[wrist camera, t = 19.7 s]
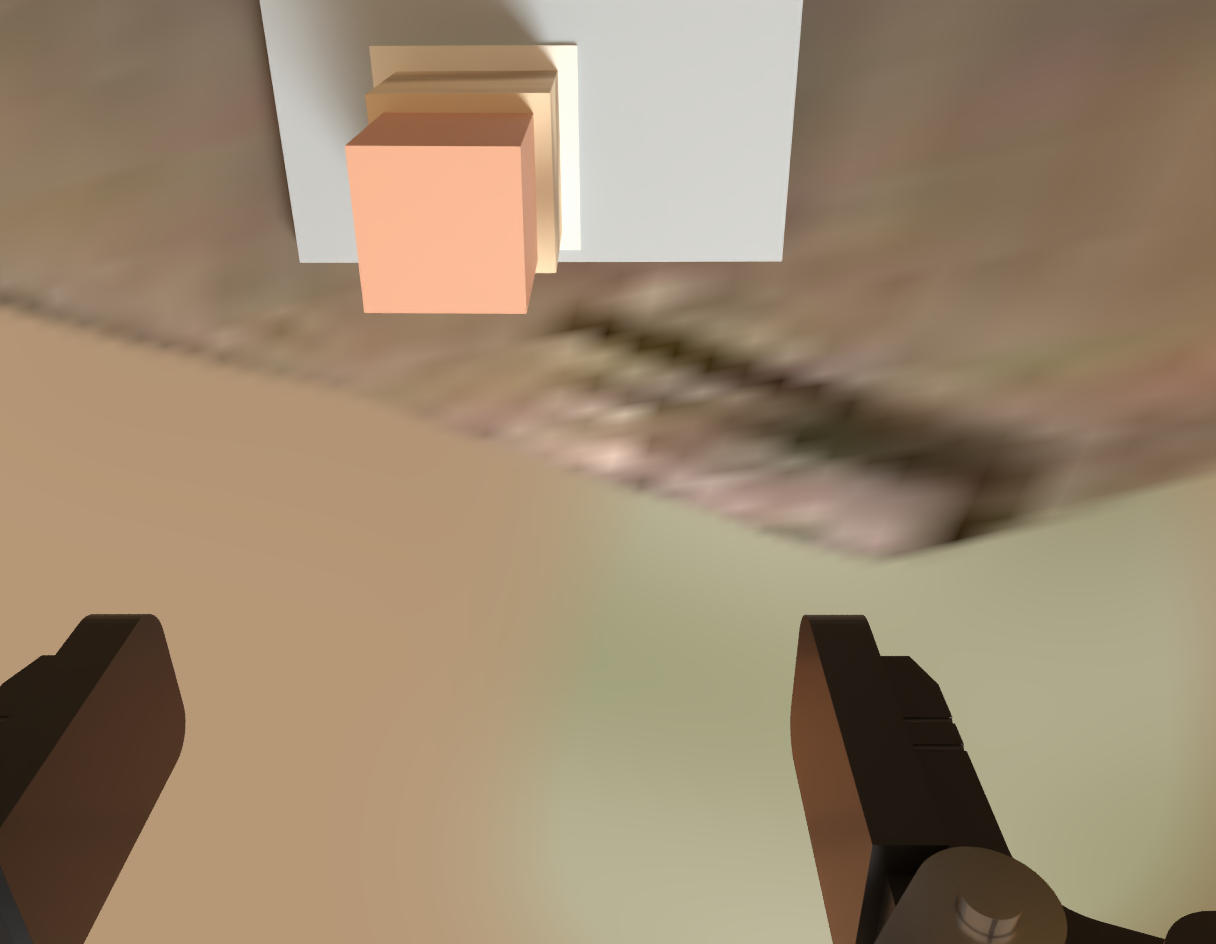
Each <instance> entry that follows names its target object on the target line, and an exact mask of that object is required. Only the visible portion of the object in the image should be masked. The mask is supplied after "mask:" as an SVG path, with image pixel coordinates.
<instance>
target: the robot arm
mask: <svg viewBox="0 0 1216 944" xmlns="http://www.w3.org/2000/svg"><path fill="white" fill-rule="evenodd" d="M790 727H791V728H790V729H791V745H792V754H793V760H794V765H795V769H796V774H797V779H798V784H799V788H800V792H801V797H802V802H803V806H804V811H805V816H806V821H807V825H808V830H809V834H810V839H811V844H812V848H813V853H814V857H815V862H816V867H817V871H818V876H819V880H820V885H821V890H822V895H823V899H824V904H825V908H826V913H827V918H828V922H829V927H830V932H831V936H832V941H833V944H1216V911H1201V912H1196V913H1192V914H1189V915H1186V916H1184V917H1182V918H1180V919H1179V920H1178V921H1176V922H1175V923H1174V924H1173V926H1172V927H1171V928H1170V930H1169V931H1168V933H1167V936H1166V938H1165V939H1162V938H1158V937H1155V936H1151V935H1148V934H1144V933H1140V932H1137V931H1133V930H1129V929H1126V928H1122V927H1118V926H1115V925H1111V924H1108V923H1104V922H1100V921H1097V920H1094V919H1091V918H1088V917H1085V916H1083V915H1081V914H1078V913H1076V912H1074V911H1072V910H1070V909H1068V908H1066V907H1064V906H1063V905H1061V902H1060V901H1059V899H1058V898H1057V896H1056V894H1055V893H1054V891H1053V890H1052V889H1051V888H1050V887H1049V885H1048V884H1047V883H1046V882H1045V881H1044V880H1043V879H1042V878H1041V877H1040V876H1039V875H1038V874H1037V873H1036V872H1034V871H1033V870H1031V869H1030V868H1029V867H1027V866H1026V865H1024V864H1023V863H1021V862H1019V861H1017V860H1015V859H1014V858H1013V857H1012V856H1011V853H1010V851H1009V849H1008V847H1007V845H1006V842H1005V840H1004V838H1003V835H1002V833H1001V830H1000V828H999V826H998V824H997V821H996V819H995V816H994V814H993V812H992V810H991V807H990V805H989V802H988V800H987V798H986V795H985V794H984V791H983V788H982V786H981V784H980V781H979V779H978V776H977V774H976V772H975V770H974V767H973V765H972V763H971V760H970V758H969V756H968V753H967V751H964V748H963V745H964V744H963V741H962V739H961V737H960V734H959V732H958V730H957V727H956V725H955V724H953V723H952V716H951V713H950V711H949V708H948V706H947V704H946V701H945V699H944V697H943V694H942V692H941V690H940V687H939V685H938V684H937V683H936V682H935V681H934V680H933V679H932V678H931V677H930V676H929V675H928V674H927V673H926V672H925V671H924V670H923V669H922V668H921V667H920V666H919V665H918V664H917V663H916V662H915V661H914V660H913V659H911V658H910V657H909V656H880V653H879V651H878V648H877V645H876V642H875V640H874V637H873V634H872V631H871V629H870V626H869V623H868V621H867V619H866V618H865V616H864V615H804V616H803V617H802V620H801V624H800V631H799V639H798V648H797V658H796V667H795V676H794V685H793V694H792V704H791V717H790ZM184 735H185V710H184V705H183V702H182V698H181V694H180V690H179V687H178V683H177V679H176V676H175V672H174V668H173V665H172V661H171V658H170V654H169V650H168V646H167V642H166V638H165V635H164V632H163V628H162V625H161V623H160V621H159V620H158V619H157V617H155V616H154V615H151V614H91V615H89V616H86V617H85V618H84V619H83V620H82V621H81V622H80V623H79V624H78V626H77V627H76V628H75V630H74V631H73V632H72V634H71V635H70V636H69V638H68V639H67V640H66V642H65V643H64V644H63V646H62V647H61V648H60V649H59V651H58V652H57V653H56V655H54V656H53V655H51V656H50V655H42V656H40V657H39V658H38V659H36V660H35V661H34V662H32V663H31V664H29V665H28V666H27V667H25V668H24V669H22V670H21V671H20V672H18V673H17V674H15V675H14V676H13V677H11V678H10V679H8V680H7V681H6V682H4V683H3V684H2V685H1V686H0V944H84V942H85V940H86V938H87V936H88V934H89V932H90V930H91V928H92V926H93V924H94V922H95V920H96V918H97V917H98V914H99V912H100V911H101V909H102V907H103V905H104V903H105V901H106V899H107V897H108V895H109V893H110V891H111V889H112V887H113V885H114V883H115V881H116V880H117V877H118V876H119V873H120V872H121V870H122V868H123V866H124V863H125V862H126V860H127V858H128V856H129V854H130V852H131V850H132V848H133V846H134V844H135V842H136V841H137V839H138V836H139V834H140V833H141V831H142V829H143V827H144V825H145V823H146V821H147V819H148V817H149V815H150V813H151V811H152V809H153V807H154V805H155V803H156V801H157V800H158V798H159V796H160V794H161V792H162V790H163V788H164V786H165V784H166V782H167V780H168V778H169V776H170V774H171V772H172V770H173V768H174V766H175V764H176V762H177V760H178V758H179V756H180V753H181V750H182V746H183V741H184Z"/></svg>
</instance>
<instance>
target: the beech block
mask: <svg viewBox="0 0 1216 944" xmlns="http://www.w3.org/2000/svg"><path fill="white" fill-rule="evenodd" d="M365 99H366V107H367V116H368V125H369V124H370V123H372V122H373V121H374V120H375V119H376V118H377V117H379V116H380V115H381V114H382V113H383V112H396V113H533V114H534V148H535V181H536V215H537V248H538V262H537V266H536V271H535V273H556V269H557V263H558V256H559V250H560V243H561V237H562V198H561V164H560V130H559V97H558V70H544V71H416V72H395V73H394V74H392V75H391V76H390V77H388V78H387V79H385V80H384V81H383V82H381V83H380V84H379V85H377V86H376V87H374V88H373V89H372V90H370V91H369V92H368V93H366V94H365Z"/></svg>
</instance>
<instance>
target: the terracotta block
mask: <svg viewBox="0 0 1216 944" xmlns="http://www.w3.org/2000/svg"><path fill="white" fill-rule="evenodd" d="M345 152H346V160H347V169H348V177H349V186H350V194H351V203H352V211H353V220H354V228H355V237H356V245H357V254H358V262H359V271H360V279H361V288H362V296H363V305H364V313H504V314H526V313H527V309H528V304H529V299H530V295H531V290H532V285H533V280H534V276H535V271H536V266H537V262H538V248H537V215H536V181H535V148H534V114H533V113H396V112H383V113H382V114H381V115H380V116H379V117H377V118H376V119H375V120H374V121H373V122H372V123H370V124H369V125H368V126H367V127H366V128H365V129H364V130H362V131H361V132H360V133H359V134H358V135H357V136H355V137H354V138H353V139H352V140H351V141H350V142H348V143H347V144H346V145H345Z"/></svg>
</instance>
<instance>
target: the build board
mask: <svg viewBox="0 0 1216 944" xmlns="http://www.w3.org/2000/svg"><path fill="white" fill-rule="evenodd" d="M802 5H803V0H260V6H261V13H262V19H263V26H264V32H265V39H266V45H267V52H268V58H269V65H270V71H271V78H272V84H273V90H274V97H275V103H276V110H277V116H278V123H279V129H280V136H281V142H282V149H283V155H284V162H285V168H286V175H287V181H288V188H289V194H290V201H291V207H292V214H293V220H294V227H295V233H296V240H297V246H298V253H299V259H300V263H356V262H358V254H357V245H356V237H355V228H354V220H353V211H352V203H351V194H350V186H349V177H348V169H347V160H346V152H345V145H346V144H347V143H348V142H350V141H351V140H352V139H353V138H354V137H355V136H357V135H358V134H359V133H360V132H361V131H362V130H364V129H365V128H366V127H367V126H368V116H367V107H366V99H365V94H366V93H368V92H369V91H370V90H372V89H373V88H374V87H376V86H377V85H379V84H380V83H381V82H383V81H384V80H385V79H387V78H388V77H390V76H391V75H392V74H394V73H395V72H416V71H544V70H558V97H559V130H560V164H561V198H562V237H561V243H560V250H559V256H558V262H691V261H782V253H783V240H784V228H785V216H786V203H787V191H788V179H789V166H790V154H791V142H792V129H793V117H794V104H795V92H796V80H797V67H798V55H799V43H800V30H801V18H802Z"/></svg>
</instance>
